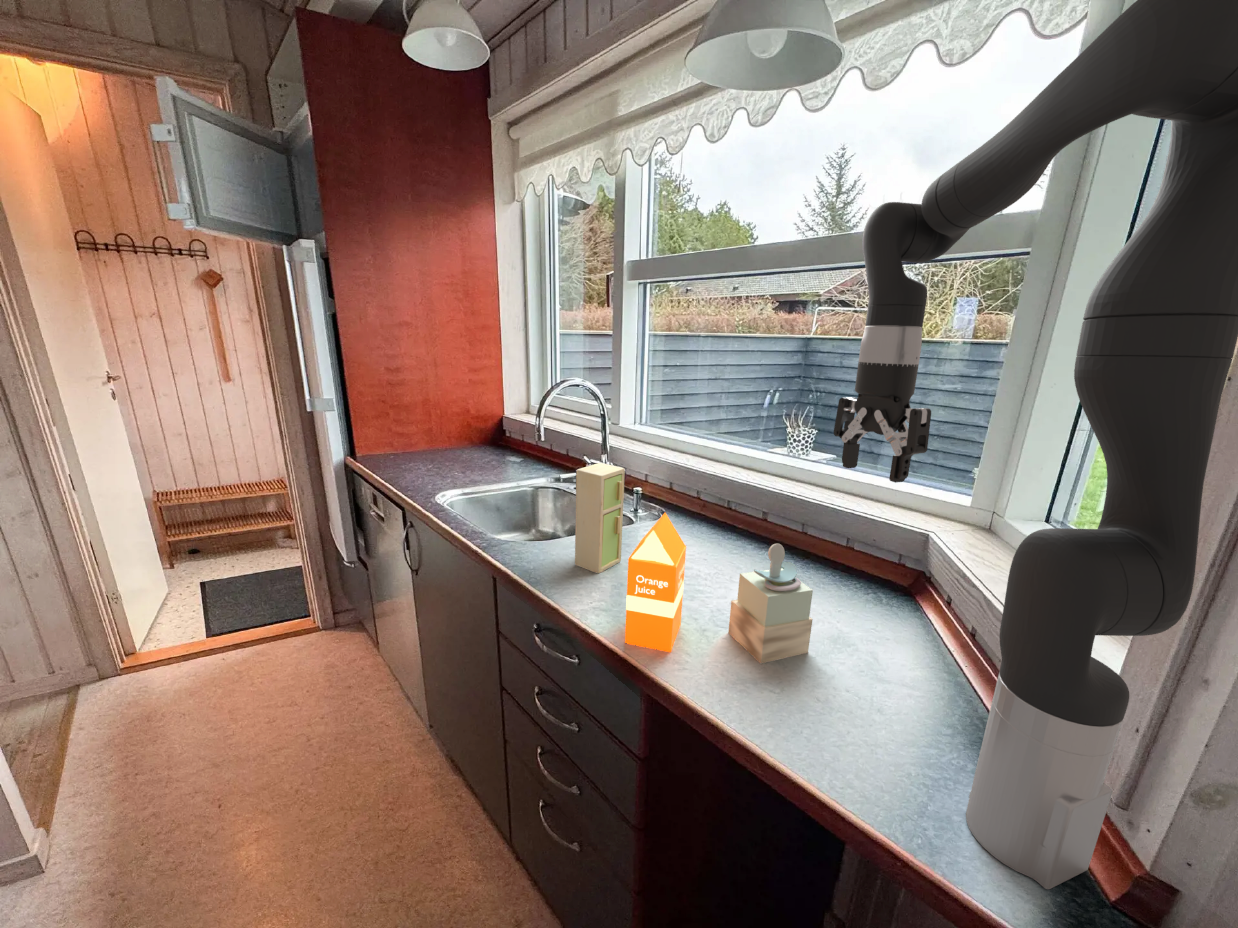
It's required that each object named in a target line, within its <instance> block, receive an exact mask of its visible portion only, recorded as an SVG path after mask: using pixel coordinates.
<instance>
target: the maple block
mask: <svg viewBox="0 0 1238 928" xmlns="http://www.w3.org/2000/svg"><path fill="white" fill-rule="evenodd" d="M812 626H813V617H811V616H809V619H807V620H801V621H795V622H789V623H784V624H778V625H772V626H766V627H765V626H764V625H762V624H761V623H760V622H759V621H758V620H757V619H756V618H755V617H754V616H753V615H752V614H750V613H749V612H748V611H747V610H746V609H745V608H744V607H743V606H742V605H741V604H740V603H738V602H737V599H734V600H733V599H732V600H731V601H730V612H729V623H728V634H729V635H730V636H731V637H732V638H733V639H734V640H736V642H737V643H739V645H740V646H742V647H743V648H744V650H746V651H747V652H748V653H749V655H751V656H752V657H753V658H754V659H755V660H756V661H757V662H759V664H765V663H770V662H774V661H777V660H782V659H787V658H790V657H795V656H800V655H804V654H808V653H809V648H810V641H811V634H812Z"/></svg>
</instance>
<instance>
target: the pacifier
mask: <svg viewBox="0 0 1238 928" xmlns="http://www.w3.org/2000/svg"><path fill="white" fill-rule="evenodd" d="M767 553H768V554H767V555H768V558H769V559H768V560H769V561H770V563H769V570H770V571H769V572H766V571H763V570H760V569H754V570H753V572H755V573H756V574H758V575H759V576H761V577H763V578H765V586H766V587H767V588H769V589H771V590H775V591H790V590H794V589H796V588H798V587H799V586H800V585H801V582H802V581H801V580H800V578H798V577H797V575H798V568H797V566H796V565H795V564H794V563H792V562H790V561H789V562H788V561H784V559H785V557H786V556H785V554H786V553H785V548H784V547H783V545H782V544H780V543H774V544H771V546H770V547H769V548H768V551H767ZM781 568H782V569H784V570H782V571H781ZM789 581H793V582H794V584H792V585H788V586H780V585H783V584H785V583H786V582H789Z"/></svg>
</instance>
